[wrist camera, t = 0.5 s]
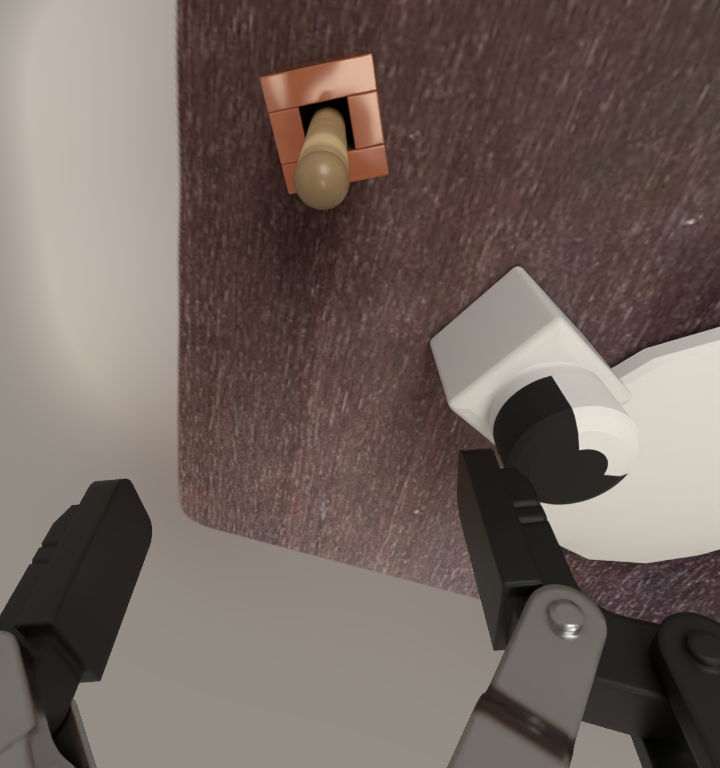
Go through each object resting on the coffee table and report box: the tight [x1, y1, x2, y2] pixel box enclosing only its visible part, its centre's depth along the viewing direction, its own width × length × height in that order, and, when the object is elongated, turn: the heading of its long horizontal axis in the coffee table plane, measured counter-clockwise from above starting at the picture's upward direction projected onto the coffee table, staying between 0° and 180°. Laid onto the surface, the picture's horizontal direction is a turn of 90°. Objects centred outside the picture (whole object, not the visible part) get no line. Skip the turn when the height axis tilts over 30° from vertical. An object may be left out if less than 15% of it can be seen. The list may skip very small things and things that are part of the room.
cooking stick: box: [294, 98, 350, 210], centre depth 19 cm, size 1×1×17 cm
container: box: [430, 266, 641, 505], centre depth 29 cm, size 8×8×13 cm
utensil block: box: [260, 50, 389, 194], centre depth 23 cm, size 4×4×8 cm
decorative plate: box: [540, 327, 720, 563], centre depth 40 cm, size 25×4×25 cm
